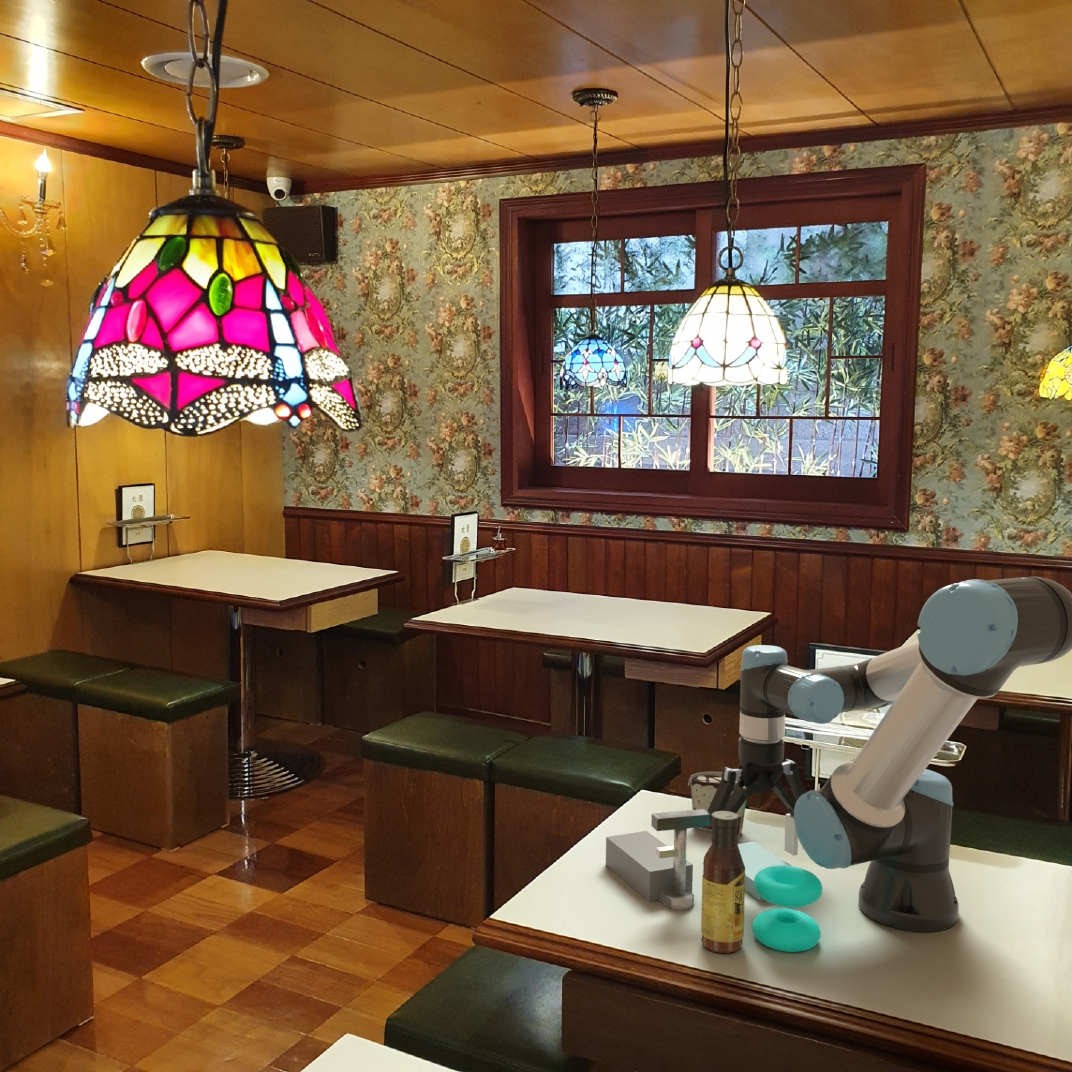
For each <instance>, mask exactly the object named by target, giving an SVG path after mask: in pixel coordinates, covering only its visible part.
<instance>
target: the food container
mask: <svg viewBox="0 0 1072 1072" xmlns="http://www.w3.org/2000/svg"><path fill="white" fill-rule="evenodd" d="M721 778H722V771H721V772H720V771H704V772H701V771H700V772H696V773H694V774H691V775H690V778H689V779H688V783H687V787H690V790H691V791H690V793H691V806H692V807H691V810H698V809H704V810H706V811H708V809H709V807H710V804H711V802H712V800H713V798H714V795H715V793H716V791H717V788H718V786H719V784H720V782H721ZM737 779H738V781H739V780H740V778H739V777H738V778H737ZM738 781H737V782H735V785H736V784H737V783H738ZM743 789H747V788H746V787H745V786H744V787H743ZM734 790H735V786H734V789H733V791H732V793H733V792H734ZM732 793H731V794H732ZM748 798H750V797H748ZM748 798H747V799H748ZM747 799H746V800H745V802H744V803H743V805H742V806H741V808H740V809H739V810H738V812H737V813H736V814H737V815H738V816H739V825H738V828H737V829H738V833H737V838H741V836H742V833H743V826H744V819H745V813H746V806H747ZM700 828H702V829H701V830H704V831H710V832H712V826H711V825H710V826H709V827H698V828H697V829H700Z"/></svg>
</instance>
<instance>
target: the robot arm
mask: <svg viewBox="0 0 1072 1072" xmlns="http://www.w3.org/2000/svg"><path fill="white" fill-rule="evenodd" d="M917 626H918V627H919V630H920V632H917V635H916V636H917V640H915V641H912V642H910V643H908V644H905V645H902V646H900V647H897V648H894V649H891V650H889V651H886V652H884V653H882V654H879V655H877V656H873V657H871V658H869V659H866V660H863V661H861V662H858V663H853V664H847V665H839V666H832V667H824V668H823V667H822V668H815V669H814V668H813V669H802V668H798V667H794V666H791V665H789V664H788V663H789V660H788V653H787V651H786V650H785V649H784V648H782V647H780V646H777V645H765V644H758V645H757V644H756V645H749V646H747V647H746V648H744V649H743V651H742V653H741V665H740V669H739V672H740V691H739V692H740V697H739V699H740V700H739V734H740V737H739V738H738V758H739V759H738V760H739V766H738V768H730V767H727V766H725V767H723V768H722V771H721V772H722V778H721V782H720V784H719V786H718V788H717V791H716V793H715V795H714V798H713V800H712V802H711V804H710V807H709V809H708V811H707V812H708V813H709V814H710V825H711V826H712V824H711V815H712V813H713V812H717V811H729V812H733V813H737V812H738V810H739V809H740V808H741V806H742V805H743V803H744V802H745V800H746V801H747V799H748V797H749V798H751V796H752V795H753V793H755V794H760V793H762V792H766V793H769V792H771V791H773V792H774V793H775V794H776V795H777V797H778V798H779V799H780V801H781V802H782V803H783V805H784V806H785V807H786V808H787V810H788V812H789V813H785V823H784V824H785V825H784V827H785V828H784V851H785V852H787V853H788V854H790V855H792V856H793V857H794V856H795V857H796V856H798V847H799V846H798V845H799V843H800V845H801V847H802V849H803V850H804V852H805V854H806V856H808V857H809V859H810V860H811V861H812V862H814V863H815V864H816V865H817V866H819V867H821V868H824V869H826V870H827V869H828V870H834V869H846V868H849V867H852V866H856V865H859V864H865V863H869V865H868V867H867V870H866V874H865V878H864V881H863V882H862V883H861V885H860V887H859V892H858V902H857V904H858V907H859V909H860V911H861V912H862V913H863V914H865V915H866V916H867V917H868V918H869V919H871V920H874V921H875V922H877V923H880V924H883V925H885V926H888V927H891V928H896V929H899V930H905V931H911V932H924V933H925V932H939V931H944V930H947V929H949V928H952V927H953V926H954V925H956V923H957V922H958V920H959V910H960V909H959V908H960V907H959V906H960V905H959V901H958V897H957V896H956V891H955V887H954V883H953V879H952V876H951V873H950V854H951V853H950V852H951V849H950V848H951V837H952V822H953V821H952V818H953V807H954V802H953V786H952V783H951V781H950V780H949V779H948V777H946V776H944V775H943V774H940V773H938V772H936V771H933V770H930V769H927V768H928V766H929V765H930V764H931V762H932V761H933V759H934V758H935V757H936V756H937V754H938V752H940V750H941V749H942V747H943V746H944V744H945V743H946V742H947V741H948V739H949V738H950V737H951V735H952V733H954V731H955V730H956V728H957V727H958V726H959V724H960V723H961V722H962V720H963V719H964V717H966V715H967V714H968V712H969V711H970V710H971V708H972V707H973V705H974V704H975V703H976V701H977V700H978V699H988V698H991V697H994V696H995V695H996V694H998V693H999V691H1000V689H1001V688H1002V687H1003V686H1004V684H1005V683H1006V682H1007V681H1008V679H1009V678H1011V676H1012V674H1013V673H1014V672H1015V670H1017V669H1018V668H1020V667H1026V666H1033V665H1039V664H1044V663H1048V662H1052V661H1055V660H1058V659H1060V658H1062V657H1064V656H1065V655H1066V654H1068V653H1069V652H1070V651H1071V650H1072V592H1071V591H1070V590H1069V589H1067V587H1065V586H1064V585H1062V584H1060V583H1058V582H1057V581H1056V580H1052V579H1050V578H1046V577H1040V576H1021V577H1013V578H1001V579H999V578H998V579H992V580H986V579H985V580H984V579H967V580H964V581H963V580H962V581H960V582H957V583H952V584H949V585H946V586H944V587H943V586H942V588H940V589H938V590H937V591H935V592H934V593H933V594H932V595H931V596H930V597H928V599H927V600H926V602H925V603H924V605H923V606H922V609H921V611H920V613H919V616H918V619H917ZM887 706H889V708H888V709H887V711H886V713H885V714H884V716H883V717H882V719H880V721H879V723H878V724H877V725H876V727H875V729H874V731H873V732H872V733H871V735H870V737H869V738H868V739H867V740H866V742H865V743H864V746H862V749H860V751H859V752H858V754H857V755H856V757H855V759H854V760H853V761H852V762H847V763H843V764H841V765H838V766H837V767H836V768H835V769H834V771H832V773H831V775H830V776H829V778H828V779H827V781H826V782H825V783H824V785H823V786H822V787H821V788H820V789H818V790H816V789H810V790H809V791H806V789H805V786H804V785H803V781H802V780H801V776H800V773H799V763H798V762H796V761H793V760H791V759H789V758H786V759H785V760H784V757H785V740H784V739H783V738H784V737H785V734H786V714H787V715H788V714H789V715H791V716H794V717H796V718H798V719H800V720H802V721H805V722H807V723H808V722H809V723H814V724H818V725H819V724H820V725H824V724H825V725H826V724H829V723H831V722H832V721H833V720H834V719H836V718H838V716H839V715H840V714H842V713H848V712H854V711H862V710H871V709H872V710H876V709H881V708H885V707H887ZM783 774H784V775H785V778H786V780H787V782H788V784H789V787H790V789H791V792H792V794H793V796H792V795H791V793H789V791H788V790H787V789H786V786H785V785H784V783H783V782H782V781H781V780H780V778H781V777H782V775H783ZM738 777H739V778H740V780H739V781H738V779H737V778H738ZM737 781H738V783H737V784H736V785H735V782H737ZM734 786H735V790H734V792H733V793H732V791H733V789H734ZM744 786H745V787H746V788H747V789H743V787H744ZM731 793H732V794H731ZM793 797H794V798H793Z"/></svg>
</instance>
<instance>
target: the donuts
mask: <svg viewBox="0 0 1072 1072" xmlns="http://www.w3.org/2000/svg"><path fill="white" fill-rule="evenodd" d="M754 887H755V889H756V891H757V893H758V894H759V895H760V896H761V897H762V898H763V899H765V900H764V901H767V902H768V903H770V904H772V905H776V906H780V907H775V908H770V909H767V910H764V911H762V912H760V913H758V915H756V917H755V918H754V920H753V923H752V925H751V926H752V928H751V929H752V933H753V935H754V937H755V938H756V939H757V940H758V941H759V942H760V943H761V944H763V945H764V946H765V947H768V948H770V949H772V950H776V951H780V952H787V953H789V952H790V953H796V952H797V953H799V952H805V951H808V950H810V949H813V948H814V947H815V946H816V945H817V944H818V943H819V942H820V939H821V929H820V926H819V925H818V923H817V921H815V919H813V918H812V917H811V916H810V915H808V914H806V913H805V912H802V911H799V910H797V909H793V908H803V907H807V906H810V905H812V904H815V902H817V901H818V900H819V899H820V897H822V893H823V885H822V882H821V880H820V879H819V877H817V875H816V874H814V873H813V872H811V871H809V870H807V869H804V868H801V867H796V866H793V865H791V866H783V865H779V866H770V867H767V868H764V869H762V870H760V871H759V872H758V873H757V874H756V876H755V879H754Z"/></svg>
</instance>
